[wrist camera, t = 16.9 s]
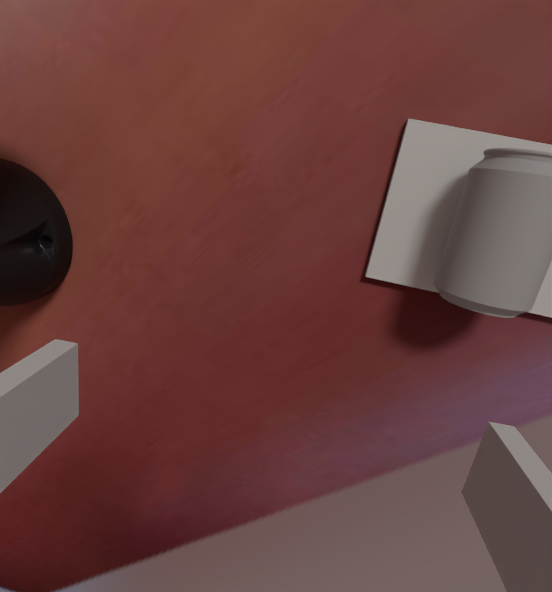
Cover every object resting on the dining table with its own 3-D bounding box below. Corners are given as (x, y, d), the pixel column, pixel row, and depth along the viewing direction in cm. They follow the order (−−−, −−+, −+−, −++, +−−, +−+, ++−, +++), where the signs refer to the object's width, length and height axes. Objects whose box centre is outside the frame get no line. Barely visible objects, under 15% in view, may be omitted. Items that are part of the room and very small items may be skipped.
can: (455, 287, 37) (498, 158, 33) (540, 317, 32) (603, 166, 28) (413, 291, 32) (458, 140, 28) (506, 327, 27) (576, 147, 23)
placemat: (364, 274, 37) (365, 276, 36) (406, 120, 33) (408, 118, 32) (578, 321, 35) (583, 324, 35) (650, 165, 31) (658, 164, 30)
